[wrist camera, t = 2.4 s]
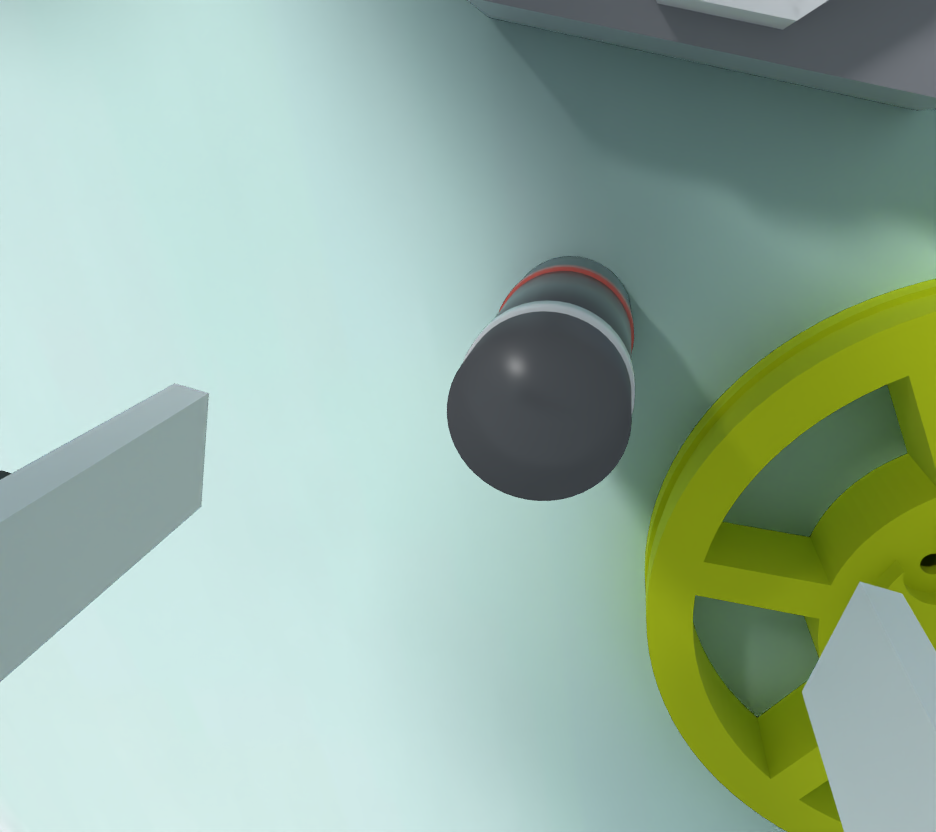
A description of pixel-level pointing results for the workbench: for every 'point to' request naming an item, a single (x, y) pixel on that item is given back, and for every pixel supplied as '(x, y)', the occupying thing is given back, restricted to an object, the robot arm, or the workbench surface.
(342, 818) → the workbench surface
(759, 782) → the pulley
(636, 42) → the plate with octagonal ring
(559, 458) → the lens
